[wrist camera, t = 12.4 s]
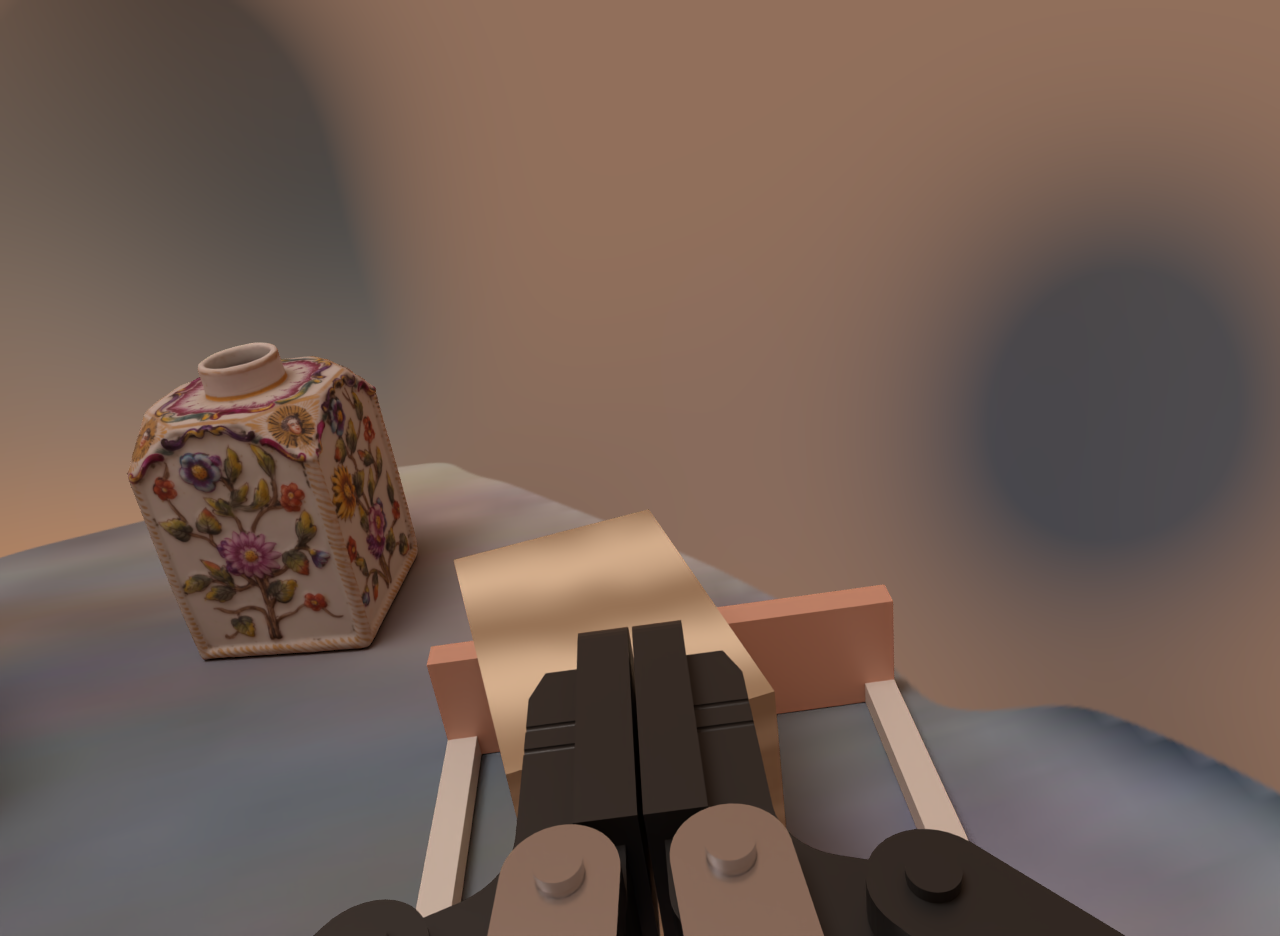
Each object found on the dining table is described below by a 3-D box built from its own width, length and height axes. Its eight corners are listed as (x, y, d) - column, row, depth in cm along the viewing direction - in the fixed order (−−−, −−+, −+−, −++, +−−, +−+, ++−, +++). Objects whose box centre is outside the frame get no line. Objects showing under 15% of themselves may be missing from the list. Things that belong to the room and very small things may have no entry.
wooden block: (796, 955, 37) (774, 691, 31) (572, 1039, 35) (506, 774, 29) (679, 728, 49) (648, 509, 43) (509, 781, 47) (453, 559, 42)
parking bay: (1040, 1023, 33) (1051, 905, 31) (390, 1110, 33) (345, 999, 31) (885, 679, 50) (884, 584, 48) (456, 737, 50) (431, 646, 48)
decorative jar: (424, 552, 69) (361, 315, 61) (375, 651, 59) (291, 380, 51) (269, 565, 70) (188, 334, 63) (194, 664, 60) (85, 401, 52)
